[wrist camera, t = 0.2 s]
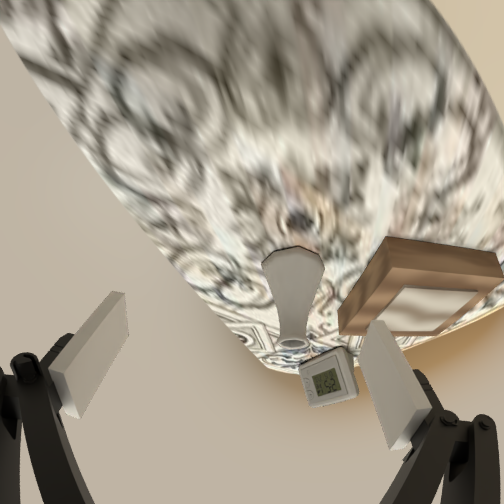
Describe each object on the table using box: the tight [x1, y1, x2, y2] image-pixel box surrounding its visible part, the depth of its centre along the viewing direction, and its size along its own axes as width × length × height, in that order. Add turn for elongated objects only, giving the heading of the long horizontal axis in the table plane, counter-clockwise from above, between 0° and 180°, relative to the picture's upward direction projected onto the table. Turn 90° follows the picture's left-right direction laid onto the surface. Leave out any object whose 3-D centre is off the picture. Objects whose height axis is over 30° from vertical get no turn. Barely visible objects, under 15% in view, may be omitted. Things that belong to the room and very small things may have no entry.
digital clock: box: [299, 347, 359, 408], centre depth 62 cm, size 16×9×11 cm, turn 144°
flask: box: [261, 247, 325, 349], centre depth 34 cm, size 7×7×10 cm
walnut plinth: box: [338, 237, 504, 336], centre depth 38 cm, size 18×18×4 cm
